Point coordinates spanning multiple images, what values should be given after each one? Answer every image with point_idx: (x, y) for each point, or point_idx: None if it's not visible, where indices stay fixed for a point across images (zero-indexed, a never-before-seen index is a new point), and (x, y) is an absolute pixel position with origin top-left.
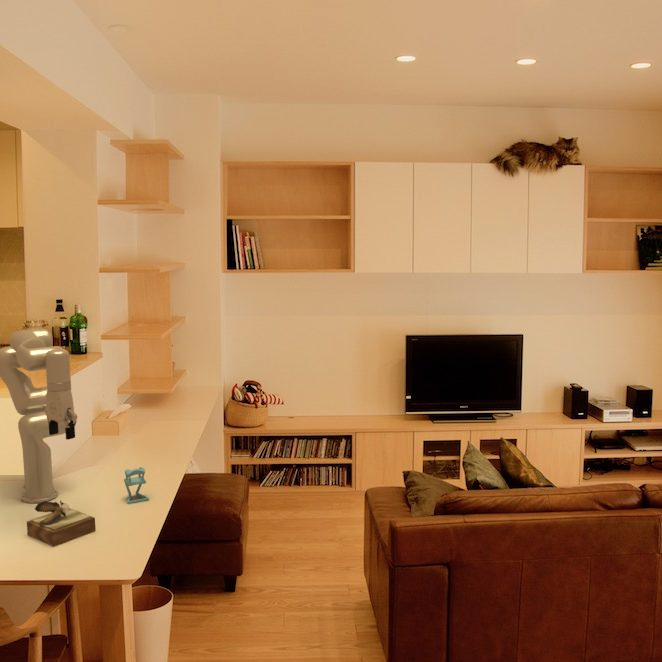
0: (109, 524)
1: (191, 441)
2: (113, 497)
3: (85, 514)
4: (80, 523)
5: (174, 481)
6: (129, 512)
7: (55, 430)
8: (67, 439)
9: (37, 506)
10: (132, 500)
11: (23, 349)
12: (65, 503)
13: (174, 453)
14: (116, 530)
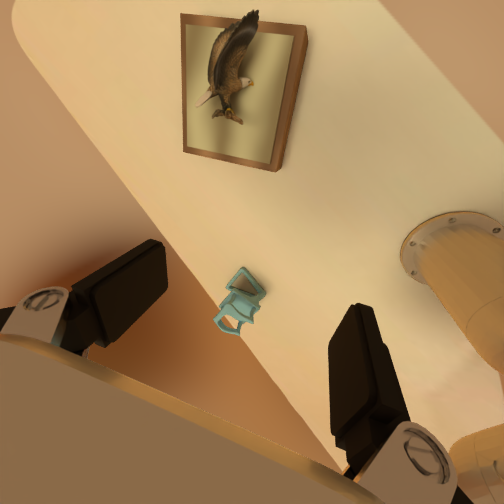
0: (202, 186)
1: (328, 450)
2: (285, 284)
3: (212, 157)
4: (183, 111)
5: (249, 345)
6: (215, 239)
7: (337, 351)
8: (152, 241)
9: (249, 16)
10: (238, 274)
11: None
12: (202, 103)
13: (321, 422)
14: (173, 169)
